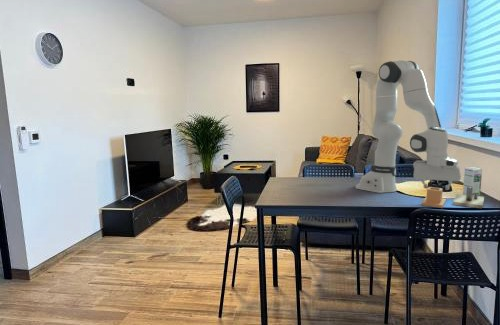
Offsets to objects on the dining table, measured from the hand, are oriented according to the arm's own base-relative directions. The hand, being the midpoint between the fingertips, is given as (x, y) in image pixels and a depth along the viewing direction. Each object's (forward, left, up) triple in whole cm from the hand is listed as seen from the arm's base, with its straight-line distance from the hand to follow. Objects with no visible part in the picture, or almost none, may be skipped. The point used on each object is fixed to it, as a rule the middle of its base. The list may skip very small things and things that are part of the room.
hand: (436, 188), depth 169 cm
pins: (+14, +12, -6) cm, 19 cm away
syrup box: (+13, +28, -8) cm, 32 cm away
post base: (+13, +11, -8) cm, 19 cm away
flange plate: (-1, 0, -8) cm, 8 cm away
